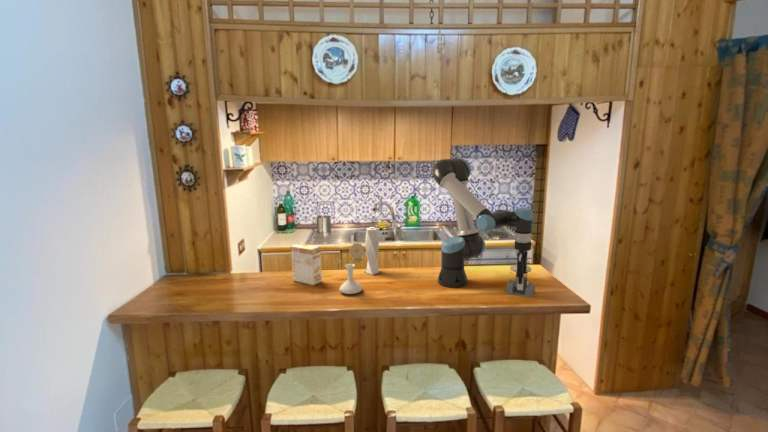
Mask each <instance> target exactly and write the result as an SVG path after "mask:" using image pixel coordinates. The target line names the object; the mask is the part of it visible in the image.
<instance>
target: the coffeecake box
mask: <svg viewBox="0 0 768 432" xmlns="http://www.w3.org/2000/svg"><path fill="white" fill-rule="evenodd" d="M290 250H291V251H290V252H291V253H290V254H291V255H290V256H291V266H292V267H291V268H292V269H291V270H292V280H293V282H298V283H303V284H305V285H309V286H310V285H311V286H316V285H317V284H320V283H322V282H323V278H322V277H323V275H322V274H323V273H322V259H321V258H322V257H321V253H322V252H321V246H318V245H312V244H308V243H307V244H306V243H300V242H299V243H296V244H293V245H290Z"/></svg>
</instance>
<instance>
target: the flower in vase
mask: <svg viewBox="0 0 768 432" xmlns="http://www.w3.org/2000/svg"><path fill="white" fill-rule="evenodd" d="M349 254H350V256H351V257H352V258H353V259H352V261H351V260H348V259H347V258H346V259H344V260H345V261H346V262H349V263H346V264H345V265H344V267H345V268H346V269H347V279H346V281H344V282H343V283H342V284H341V285H340V287H339V289H338V290H339V292H340V293H343V294H347V295H353V294H355V295H356V294H358V293H360V292H361V291H362V290H363V286H362V285H361V284H360V283H359V282H358V281H356V280H354V277H353V275H354V274H353V272H354V268H355V266H356V264H355V263H354V261H355V262H357V263H360V262H362V261H363V259H362V257H364V256H365V254H366V248H364V246H363V244H362V243H359V242H354V243H353V244H352V245H350V247H349Z"/></svg>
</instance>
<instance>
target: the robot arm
mask: <svg viewBox="0 0 768 432" xmlns="http://www.w3.org/2000/svg"><path fill="white" fill-rule="evenodd" d="M471 173H472V169H471V165H470V163H469V162H468V161H467V160H466V159H465V158H459V157H456V158H443V159H440V160H438V161H437V162H436V163H434V165H433V167H432V176H433V177H432V178H433V179H434V181H435V182H436V184H437V185H438V186H440V188H442V189H445V190H446V191H447V192H448V193H449V194H450V195H451V197H452V203H453V208H454V213H455V219H456V224H457V229H458V232H457V234H456V236H449V237H446V238H445V239H443V240H442V242H441V248H440V249H441V268H440V271H439V273H438V276H437V284H439V285H440V286H443V287H444V288H445V287H446V288H462V287H465V286H466V285H468V276H467V273H466V271H465V261H468V260H470V259H476V258H477V257H480V256H481V255H482V254H483V253H484V252H485V249H486V242H485V240H484V238H483V237H482V236H481V235H480V234H479V231H478V230H477V229H476V228H475V222H474V219H475V220H476V226H477V228H478V229H479V230H480V231H482V232H490V231H493V230H495V229H500V228H504V227H509V228H510V227H511V228H514V250H516V251H518V252H517V257H516V260H517V261H516V265H517V275H516V274H515V278H516V277H518V278H517V290H523V283H524V277H523V274H528V273H527V272H526V270H527V266H528V265H527V264H528V254H529V253H528V252H529V251H531V250H532V238H533V237H534V235H533V233H532V232H533V230H532V229H533V220H534V219H533V218H534V217H533V209H531V208H526V207H519V208H516V209H515V211H513V210H505V209H496V210H494V211H493V212H492V211H491V210H490V209H489V208H487V207H486V205H484V203H482V202H481V200H480V199H479V198H478V197H476V196H475V195H474V194H473V193H472V192H471V191H470V190H469V189H468V186H467V185H468V183H469V177H470V175H471Z"/></svg>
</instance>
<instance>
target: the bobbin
mask: <svg viewBox="0 0 768 432" xmlns="http://www.w3.org/2000/svg"><path fill="white" fill-rule="evenodd" d="M509 268H510V270H511V271H512V272H515V279H514V280H513V281H516V288H517V277H516V275H517V264H512V265H510V266H509ZM526 272H527V274H528V273H531V272H532V267H531V266H529V265H527V270H526ZM528 283H529V282H528V281H527V285H528Z"/></svg>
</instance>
